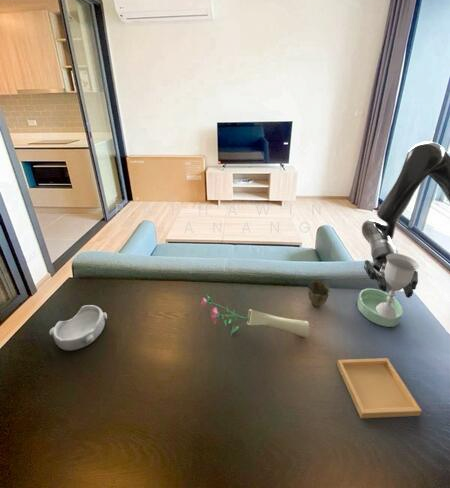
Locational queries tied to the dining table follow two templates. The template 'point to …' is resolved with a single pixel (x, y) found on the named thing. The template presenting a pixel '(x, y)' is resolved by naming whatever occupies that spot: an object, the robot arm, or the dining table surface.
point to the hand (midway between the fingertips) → (396, 291)
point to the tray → (377, 388)
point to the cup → (317, 293)
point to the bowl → (369, 303)
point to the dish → (79, 328)
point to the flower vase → (263, 320)
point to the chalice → (396, 280)
